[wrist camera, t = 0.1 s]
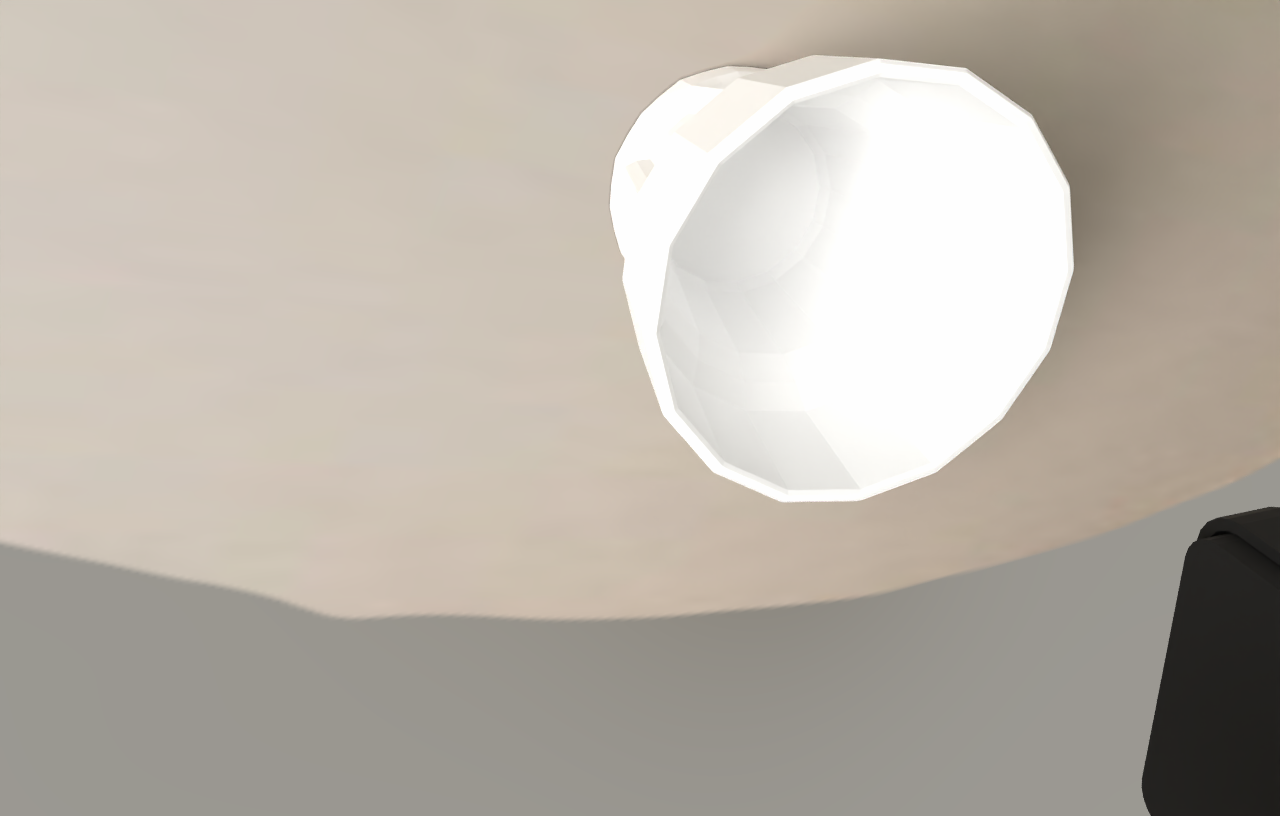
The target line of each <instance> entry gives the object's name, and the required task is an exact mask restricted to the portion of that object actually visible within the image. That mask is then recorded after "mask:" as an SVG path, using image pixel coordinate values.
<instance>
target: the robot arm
mask: <svg viewBox="0 0 1280 816" xmlns="http://www.w3.org/2000/svg"><path fill="white" fill-rule="evenodd" d="M1142 792H1143V798H1144V801H1145V803H1146V807H1147V809H1148V811H1149V813H1150V815H1151V816H1280V507H1267V508H1262V509H1257V510H1253V511H1248V512H1244V513H1239V514H1234V515H1229V516H1224V517H1220V518H1216V519H1214V520H1211V521H1209V522H1207V523H1206V525H1205V526H1204V527H1203V528H1202V529H1201V530H1200V533H1199V536H1198V539H1197V541H1195V542H1193V543H1192V545H1191V546H1190V547H1189V548H1188V551H1187V553H1186V556H1185V561H1184V566H1183V571H1182V576H1181V581H1180V586H1179V591H1178V597H1177V602H1176V607H1175V612H1174V617H1173V623H1172V627H1171V633H1170V638H1169V643H1168V648H1167V653H1166V658H1165V663H1164V669H1163V674H1162V679H1161V684H1160V689H1159V694H1158V699H1157V705H1156V710H1155V715H1154V720H1153V725H1152V730H1151V735H1150V740H1149V746H1148V751H1147V756H1146V761H1145V766H1144V772H1143V777H1142Z"/></svg>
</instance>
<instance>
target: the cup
mask: <svg viewBox="0 0 1280 816" xmlns="http://www.w3.org/2000/svg"><path fill="white" fill-rule="evenodd" d="M610 210H611V215H612V221H613V226H614V231H615V234H616V238H617V241H618V245H619V248H620V252H621V253H622V255H623V256H624V258H625V264H624V271H623V279H622V280H623V284H624V288H625V292H626V296H627V300H628V304H629V308H630V312H631V316H632V320H633V324H634V328H635V332H636V336H637V340H638V344H639V348H640V351H641V354H642V357H643V360H644V362H645V365H646V368H647V371H648V374H649V376H650V379H651V382H652V385H653V388H654V391H655V393H656V396H657V399H658V402H659V405H660V407H661V410H662V413H663V415H664V416H665V418H666V419H667V420H668V421H669V422H670V423H671V424H672V426H673V427H674V428H675V429H676V430H677V431H678V432H679V434H680V435H681V436H682V437H683V438H684V439H685V440H686V442H687V443H688V444H689V445H690V446H691V447H692V448H693V450H694V451H695V452H696V453H697V454H698V455H699V456H700V458H701V459H702V460H703V461H704V462H705V463H706V464H707V466H708V467H709V468H710V469H711V470H712V471H713V472H714V473H716V474H718V475H721V476H723V477H725V478H727V479H730V480H732V481H734V482H736V483H739V484H741V485H743V486H746V487H748V488H750V489H752V490H755V491H757V492H759V493H762V494H764V495H766V496H768V497H771V498H773V499H775V500H778V501H780V502H831V501H860V500H863V499H866V498H869V497H871V496H874V495H877V494H879V493H882V492H885V491H887V490H890V489H893V488H896V487H898V486H901V485H904V484H906V483H909V482H912V481H915V480H917V479H920V478H923V477H925V476H928V475H931V474H933V473H936V472H937V471H939V470H940V469H941V468H942V467H944V466H945V465H946V464H947V463H949V462H950V461H951V460H952V459H954V458H955V457H956V456H957V455H958V454H960V453H961V452H962V451H963V450H965V449H966V448H967V447H968V446H970V445H971V444H972V443H973V442H975V441H976V440H977V439H978V438H980V437H981V436H982V435H983V434H985V433H986V432H987V431H988V430H989V429H991V428H992V427H993V426H994V425H996V424H997V423H998V422H999V421H1001V420H1002V418H1003V417H1004V415H1005V414H1006V413H1007V411H1008V410H1009V408H1010V407H1011V405H1012V404H1013V403H1014V401H1015V400H1016V398H1017V397H1018V395H1019V394H1020V392H1021V391H1022V390H1023V388H1024V387H1025V385H1026V384H1027V382H1028V381H1029V380H1030V378H1031V377H1032V375H1033V374H1034V372H1035V371H1036V369H1037V368H1038V367H1039V365H1040V364H1041V362H1042V361H1043V359H1044V358H1045V357H1046V355H1047V354H1048V352H1049V351H1050V349H1051V345H1052V342H1053V338H1054V335H1055V332H1056V328H1057V325H1058V321H1059V318H1060V315H1061V311H1062V308H1063V304H1064V301H1065V298H1066V294H1067V291H1068V287H1069V284H1070V281H1071V277H1072V274H1073V270H1074V255H1073V236H1072V217H1071V198H1070V185H1069V183H1068V181H1067V179H1066V177H1065V175H1064V173H1063V171H1062V170H1061V168H1060V166H1059V164H1058V162H1057V160H1056V158H1055V156H1054V155H1053V153H1052V151H1051V149H1050V147H1049V145H1048V143H1047V142H1046V140H1045V138H1044V136H1043V134H1042V132H1041V130H1040V128H1039V127H1038V125H1037V123H1036V121H1035V119H1034V117H1033V115H1032V114H1030V113H1029V112H1027V111H1026V110H1025V109H1023V108H1022V107H1020V106H1019V105H1018V104H1016V103H1015V102H1013V101H1012V100H1010V99H1009V98H1008V97H1006V96H1005V95H1003V94H1002V93H1001V92H999V91H998V90H996V89H995V88H994V87H992V86H991V85H989V84H988V83H986V82H985V81H984V80H982V79H981V78H979V77H978V76H977V75H975V74H974V73H972V72H971V71H970V70H968V69H967V68H960V67H952V66H943V65H934V64H925V63H916V62H907V61H898V60H889V59H880V58H861V57H841V56H821V55H811V56H808V57H805V58H801V59H798V60H795V61H792V62H788V63H785V64H782V65H778V66H775V67H772V68H769V69H761V68H754V67H737V66H726V67H722V68H717V69H713V70H709V71H705V72H702V73H699V74H696V75H693V76H690V77H687V78H684V79H681V80H679V81H678V82H677V83H676V84H674V85H673V86H672V87H671V88H669V89H668V90H667V91H666V92H664V93H663V94H662V95H661V96H660V97H658V98H657V99H656V100H655V101H654V102H653V103H652V104H651V105H650V106H649V107H648V108H647V109H646V110H645V111H644V112H643V113H642V114H641V115H640V117H639V118H638V120H637V121H636V123H635V124H634V126H633V128H632V129H631V131H630V132H629V134H628V135H627V137H626V139H625V141H624V143H623V145H622V147H621V149H620V150H619V152H618V154H617V156H616V158H615V164H614V171H613V177H612V185H611V198H610Z"/></svg>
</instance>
